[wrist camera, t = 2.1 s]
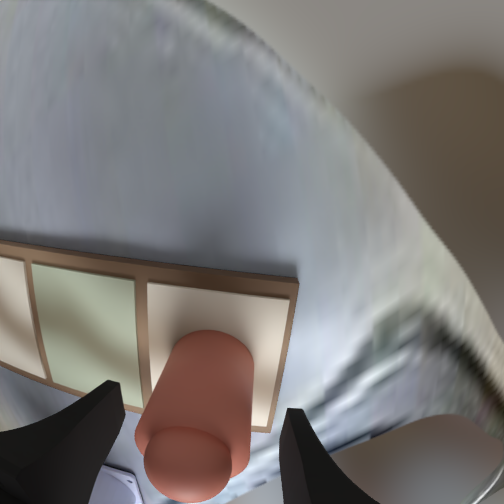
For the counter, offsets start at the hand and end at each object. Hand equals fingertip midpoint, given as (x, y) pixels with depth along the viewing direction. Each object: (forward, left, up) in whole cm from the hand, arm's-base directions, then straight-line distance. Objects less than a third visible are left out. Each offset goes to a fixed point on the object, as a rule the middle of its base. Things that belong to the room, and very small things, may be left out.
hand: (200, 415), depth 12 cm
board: (0, +11, -5) cm, 12 cm away
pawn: (0, 0, -4) cm, 4 cm away
